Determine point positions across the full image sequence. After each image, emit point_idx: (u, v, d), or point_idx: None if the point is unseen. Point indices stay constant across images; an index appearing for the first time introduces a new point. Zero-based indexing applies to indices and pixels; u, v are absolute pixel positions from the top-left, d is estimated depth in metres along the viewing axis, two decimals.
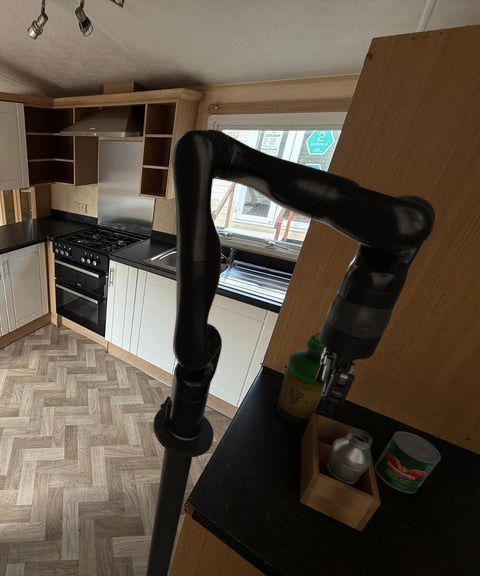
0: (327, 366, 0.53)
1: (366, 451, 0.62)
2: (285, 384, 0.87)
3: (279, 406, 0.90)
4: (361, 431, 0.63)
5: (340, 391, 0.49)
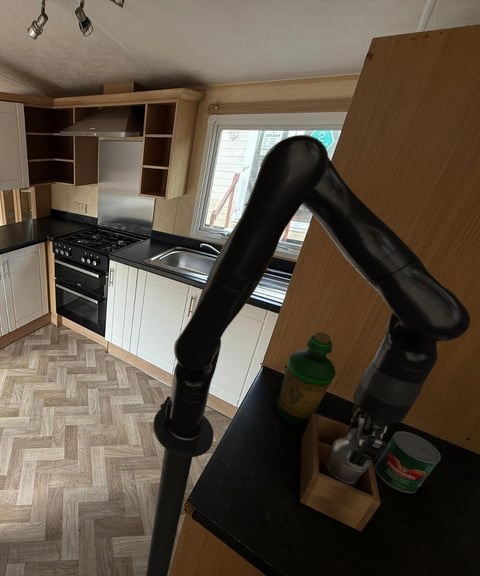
0: (361, 425, 0.59)
1: None
2: (285, 384, 0.87)
3: (279, 406, 0.90)
4: None
5: (373, 452, 0.56)
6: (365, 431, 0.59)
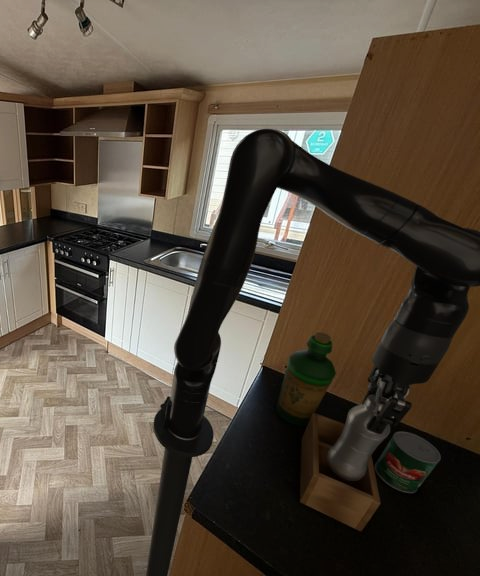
0: (381, 389, 0.55)
1: None
2: (285, 384, 0.87)
3: (279, 406, 0.90)
4: None
5: (395, 415, 0.52)
6: (385, 395, 0.54)
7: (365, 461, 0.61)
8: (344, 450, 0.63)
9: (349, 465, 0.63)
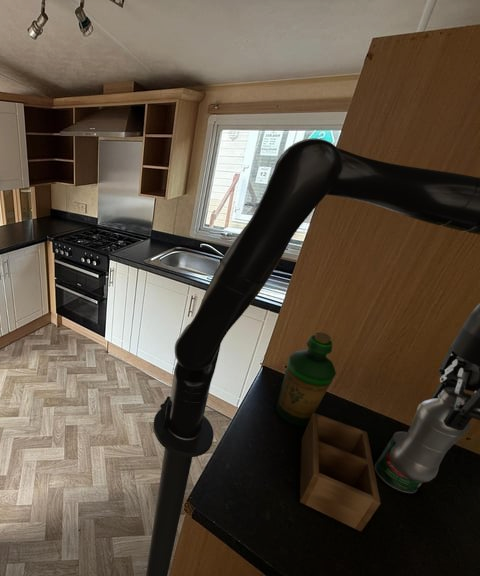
0: (464, 380, 0.50)
1: None
2: (285, 384, 0.87)
3: (279, 406, 0.90)
4: None
5: None
6: (470, 386, 0.49)
7: (439, 460, 0.56)
8: (413, 449, 0.58)
9: (419, 465, 0.57)
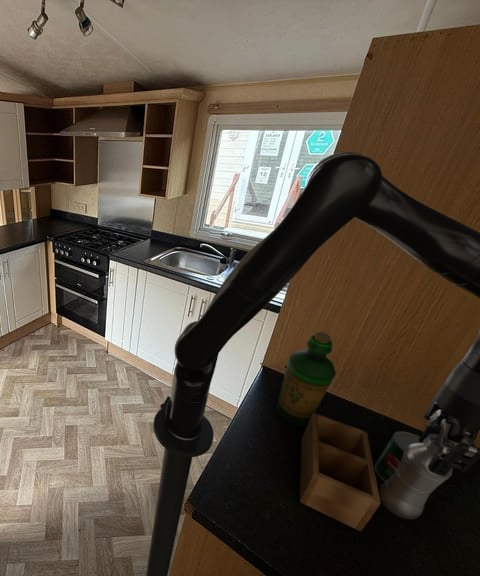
0: (446, 431, 0.54)
1: None
2: (285, 384, 0.87)
3: (279, 406, 0.90)
4: None
5: (465, 461, 0.51)
6: (451, 437, 0.53)
7: (424, 500, 0.60)
8: (400, 488, 0.62)
9: (406, 503, 0.62)
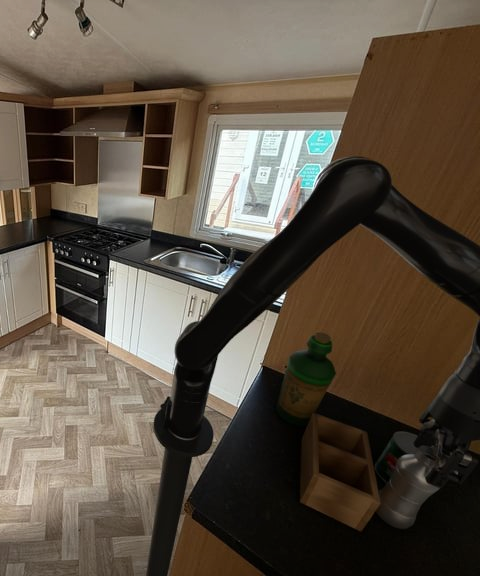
0: (440, 441, 0.55)
1: None
2: (285, 384, 0.87)
3: (279, 406, 0.90)
4: (431, 449, 0.60)
5: (461, 471, 0.51)
6: (444, 448, 0.54)
7: (416, 510, 0.62)
8: (393, 499, 0.64)
9: (399, 513, 0.63)
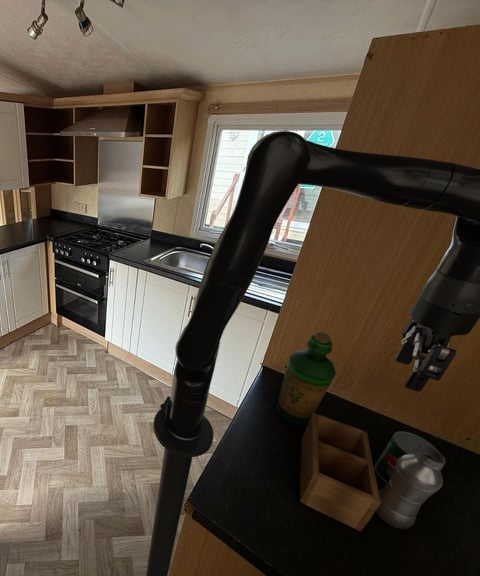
0: (420, 343, 0.54)
1: (438, 471, 0.58)
2: (285, 384, 0.87)
3: (279, 406, 0.90)
4: (431, 449, 0.60)
5: (439, 365, 0.50)
6: (424, 349, 0.54)
7: (416, 510, 0.62)
8: (393, 499, 0.64)
9: (399, 513, 0.63)
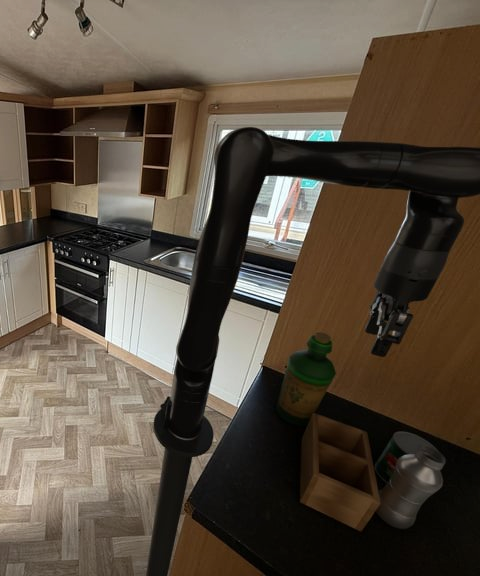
0: (383, 311, 0.58)
1: (438, 471, 0.58)
2: (285, 384, 0.87)
3: (279, 406, 0.90)
4: (431, 449, 0.60)
5: (398, 330, 0.54)
6: (386, 316, 0.58)
7: (416, 510, 0.62)
8: (393, 499, 0.64)
9: (399, 513, 0.63)
